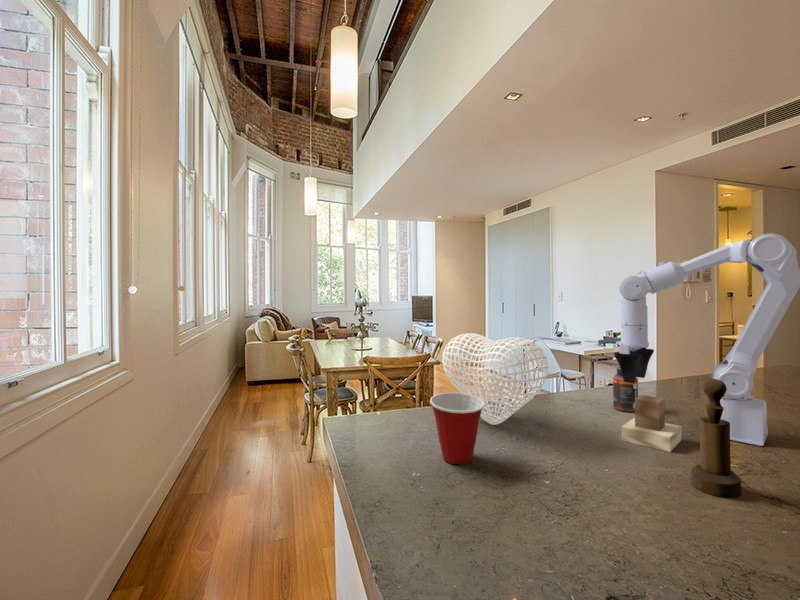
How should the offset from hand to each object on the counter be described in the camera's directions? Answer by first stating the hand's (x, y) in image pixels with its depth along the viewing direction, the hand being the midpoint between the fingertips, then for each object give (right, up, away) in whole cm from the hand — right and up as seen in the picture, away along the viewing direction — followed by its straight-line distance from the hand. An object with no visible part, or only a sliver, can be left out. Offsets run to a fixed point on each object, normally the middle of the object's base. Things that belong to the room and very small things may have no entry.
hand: (634, 379), depth 98 cm
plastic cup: (-47, -12, -20) cm, 52 cm away
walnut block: (-4, -8, -12) cm, 15 cm away
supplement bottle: (+3, -10, +10) cm, 15 cm away
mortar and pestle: (-6, -11, -33) cm, 35 cm away
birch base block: (-4, -11, -12) cm, 16 cm away
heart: (-35, -11, 0) cm, 37 cm away
